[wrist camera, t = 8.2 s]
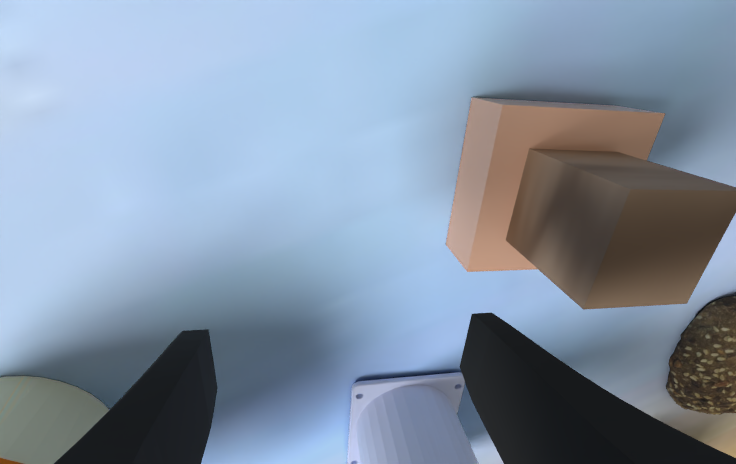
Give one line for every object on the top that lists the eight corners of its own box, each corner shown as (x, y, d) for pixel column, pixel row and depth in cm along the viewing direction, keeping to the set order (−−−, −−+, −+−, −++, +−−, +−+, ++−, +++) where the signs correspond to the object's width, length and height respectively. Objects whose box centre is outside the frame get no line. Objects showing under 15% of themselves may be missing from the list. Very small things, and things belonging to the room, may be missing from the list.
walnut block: (585, 238, 19) (686, 303, 14) (505, 240, 18) (583, 309, 13) (616, 151, 17) (747, 190, 12) (529, 148, 16) (630, 189, 11)
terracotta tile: (568, 241, 22) (604, 266, 20) (445, 244, 21) (467, 271, 18) (614, 105, 19) (665, 113, 16) (471, 97, 18) (502, 104, 15)
